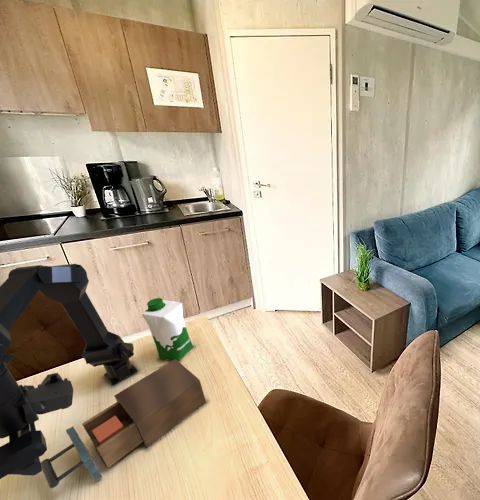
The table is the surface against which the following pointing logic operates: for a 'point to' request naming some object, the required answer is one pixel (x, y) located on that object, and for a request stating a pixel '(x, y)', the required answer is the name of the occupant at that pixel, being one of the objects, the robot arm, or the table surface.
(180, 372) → the cabinet
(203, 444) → the table surface
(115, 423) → the block
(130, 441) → the drawer
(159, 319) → the milk carton
